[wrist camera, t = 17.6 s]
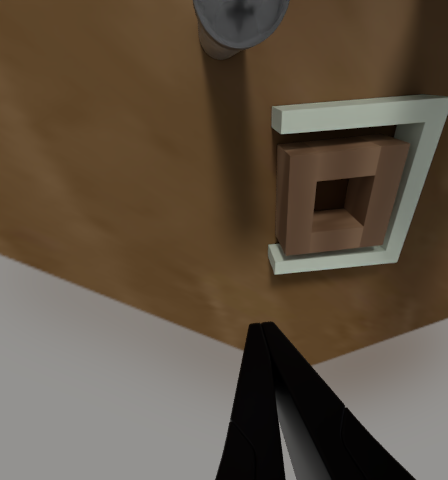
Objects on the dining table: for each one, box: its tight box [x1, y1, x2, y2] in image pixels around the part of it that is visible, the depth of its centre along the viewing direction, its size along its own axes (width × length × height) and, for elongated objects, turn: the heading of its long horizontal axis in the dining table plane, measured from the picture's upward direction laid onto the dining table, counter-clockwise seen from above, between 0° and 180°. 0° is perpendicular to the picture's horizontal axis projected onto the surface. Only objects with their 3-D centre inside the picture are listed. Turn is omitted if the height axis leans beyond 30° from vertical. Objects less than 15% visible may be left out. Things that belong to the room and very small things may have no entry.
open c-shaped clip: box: [268, 94, 448, 275], centre depth 19 cm, size 10×11×2 cm
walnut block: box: [275, 134, 411, 256], centre depth 19 cm, size 7×7×3 cm
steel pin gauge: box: [193, 0, 290, 60], centre depth 11 cm, size 3×3×9 cm
